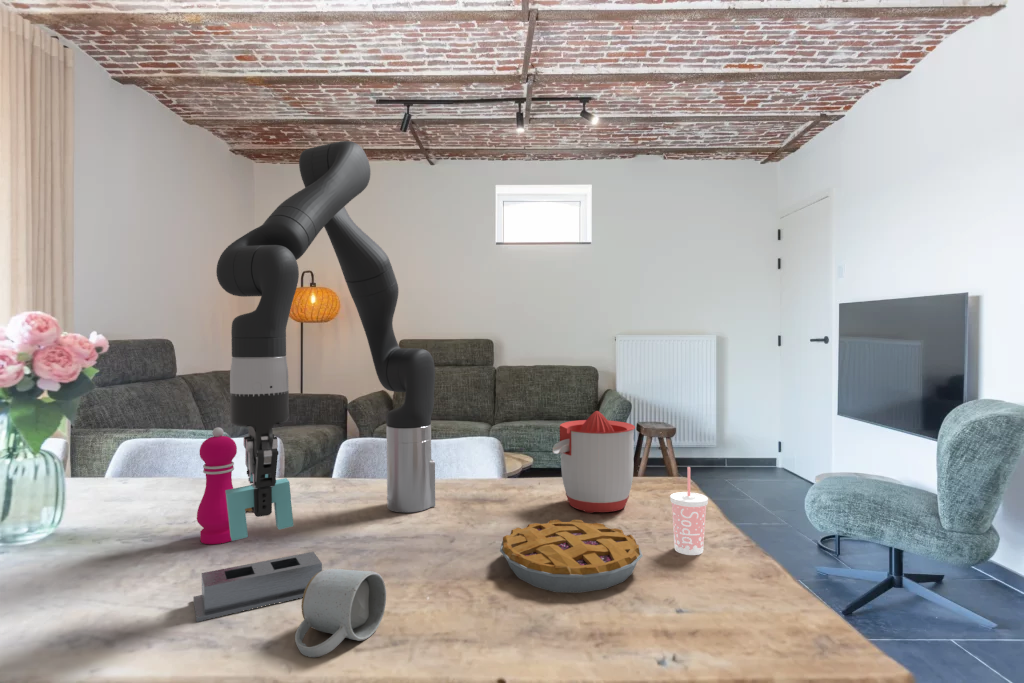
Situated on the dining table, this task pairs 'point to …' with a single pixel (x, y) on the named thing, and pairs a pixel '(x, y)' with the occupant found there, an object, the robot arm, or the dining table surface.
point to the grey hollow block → (255, 585)
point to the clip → (245, 499)
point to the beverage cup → (689, 520)
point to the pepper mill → (216, 487)
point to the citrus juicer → (596, 462)
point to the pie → (570, 555)
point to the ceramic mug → (341, 607)
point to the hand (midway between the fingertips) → (261, 511)
